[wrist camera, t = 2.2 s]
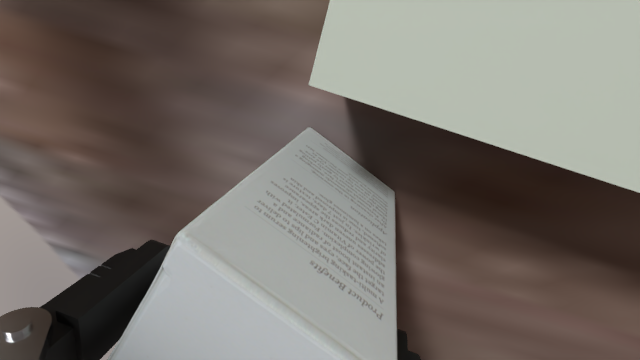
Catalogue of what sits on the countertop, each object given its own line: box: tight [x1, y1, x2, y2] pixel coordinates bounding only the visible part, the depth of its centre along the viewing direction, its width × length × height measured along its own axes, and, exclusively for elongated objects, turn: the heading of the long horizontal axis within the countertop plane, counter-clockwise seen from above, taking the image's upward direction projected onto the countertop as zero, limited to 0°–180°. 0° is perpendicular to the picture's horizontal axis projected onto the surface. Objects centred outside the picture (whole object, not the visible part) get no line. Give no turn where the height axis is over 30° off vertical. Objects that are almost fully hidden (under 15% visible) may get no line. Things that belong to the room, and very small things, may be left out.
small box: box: [108, 127, 397, 360], centre depth 12 cm, size 8×6×10 cm
